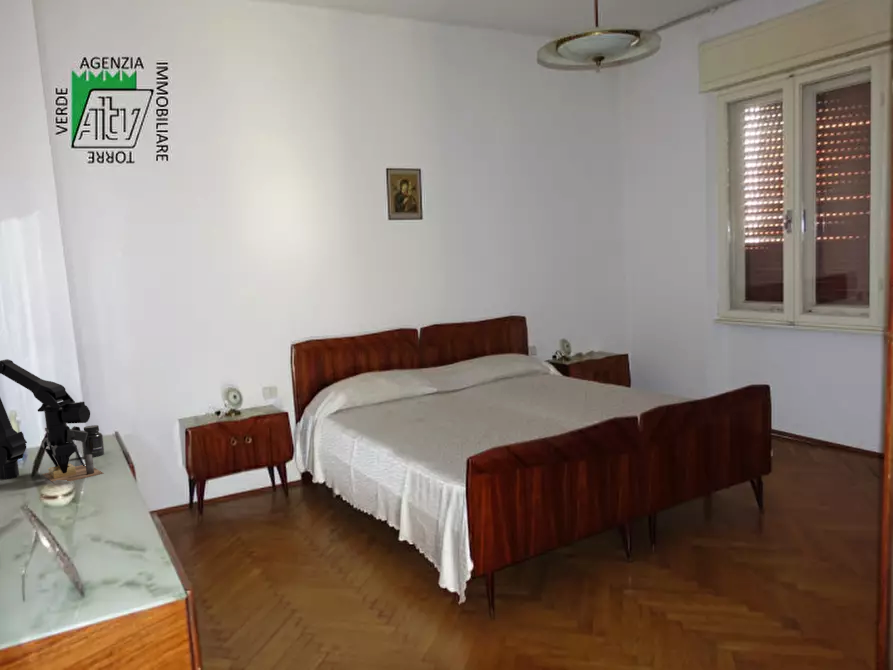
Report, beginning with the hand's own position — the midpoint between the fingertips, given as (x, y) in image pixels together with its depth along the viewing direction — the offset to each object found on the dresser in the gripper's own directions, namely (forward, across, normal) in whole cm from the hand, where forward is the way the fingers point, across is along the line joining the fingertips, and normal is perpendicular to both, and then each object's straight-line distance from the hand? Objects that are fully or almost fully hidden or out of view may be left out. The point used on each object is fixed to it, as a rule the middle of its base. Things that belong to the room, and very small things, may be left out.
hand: (62, 471), depth 227 cm
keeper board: (+3, -2, -2) cm, 4 cm away
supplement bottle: (+3, +18, -14) cm, 23 cm away
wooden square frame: (+1, 0, 0) cm, 1 cm away
